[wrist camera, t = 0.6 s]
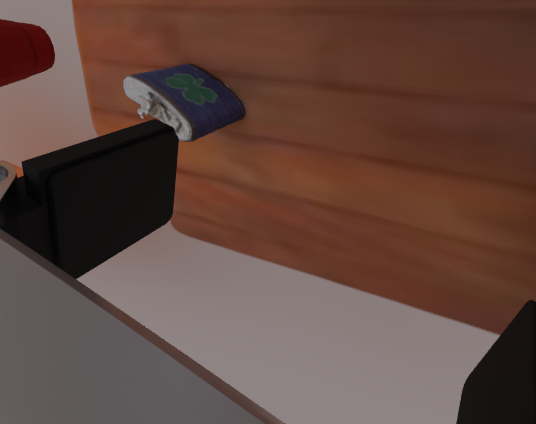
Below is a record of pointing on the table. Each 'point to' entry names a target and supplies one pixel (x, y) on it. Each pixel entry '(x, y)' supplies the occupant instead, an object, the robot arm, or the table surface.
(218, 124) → the flask
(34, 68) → the plastic cup
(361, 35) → the table surface
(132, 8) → the table surface
